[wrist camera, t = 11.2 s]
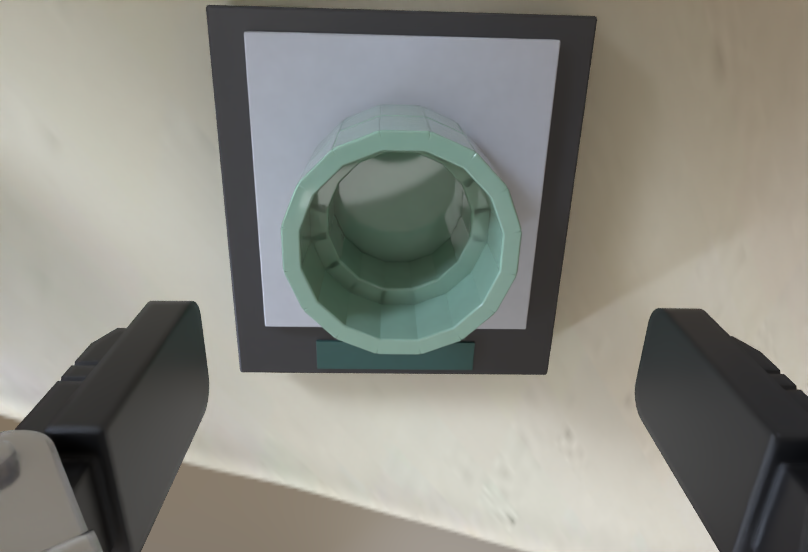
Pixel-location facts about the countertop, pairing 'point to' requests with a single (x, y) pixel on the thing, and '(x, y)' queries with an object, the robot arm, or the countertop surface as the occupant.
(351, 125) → the bowl
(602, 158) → the countertop surface
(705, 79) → the countertop surface
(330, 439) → the countertop surface
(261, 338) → the scale
